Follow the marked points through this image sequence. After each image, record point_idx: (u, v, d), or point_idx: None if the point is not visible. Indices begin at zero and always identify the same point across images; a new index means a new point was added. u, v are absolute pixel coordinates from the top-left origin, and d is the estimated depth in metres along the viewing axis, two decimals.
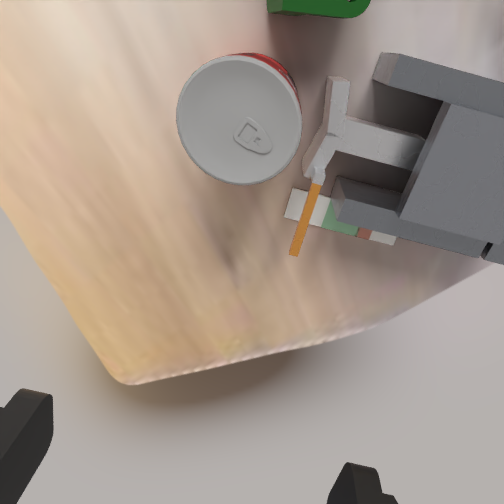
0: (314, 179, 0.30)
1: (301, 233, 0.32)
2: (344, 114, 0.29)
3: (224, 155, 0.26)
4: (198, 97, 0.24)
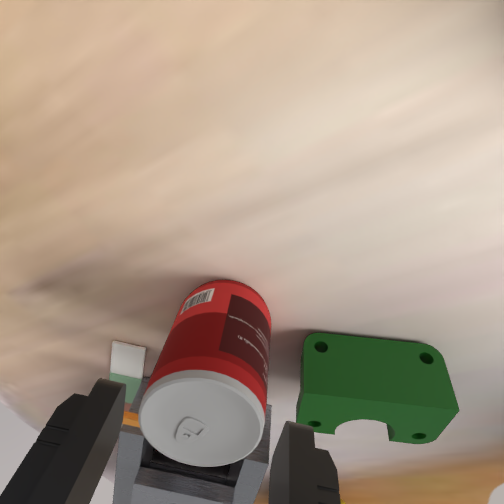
0: None
1: None
2: None
3: (168, 407, 0.24)
4: (224, 394, 0.23)
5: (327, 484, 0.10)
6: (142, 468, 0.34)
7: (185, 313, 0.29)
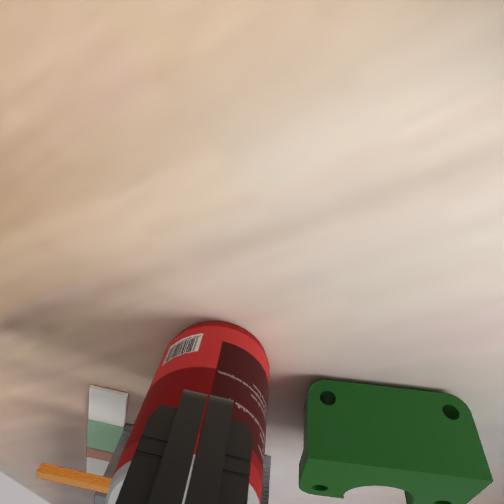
0: None
1: (68, 482, 0.26)
2: None
3: None
4: None
5: (240, 454, 0.10)
6: None
7: (167, 365, 0.25)
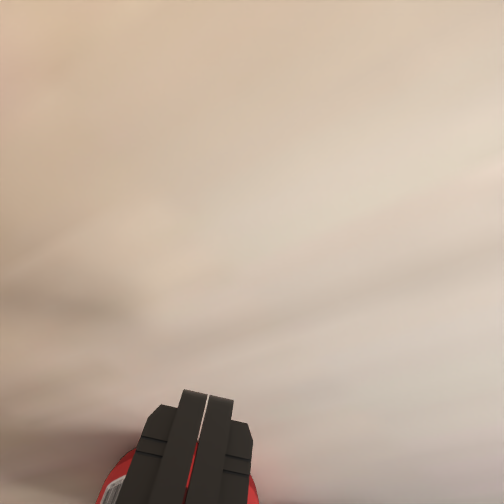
0: None
1: None
2: None
3: None
4: None
5: (240, 454, 0.10)
6: None
7: None
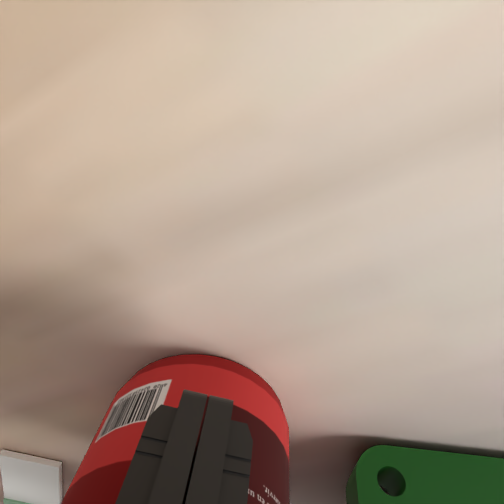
0: None
1: None
2: None
3: None
4: None
5: (240, 454, 0.10)
6: None
7: (100, 446, 0.13)
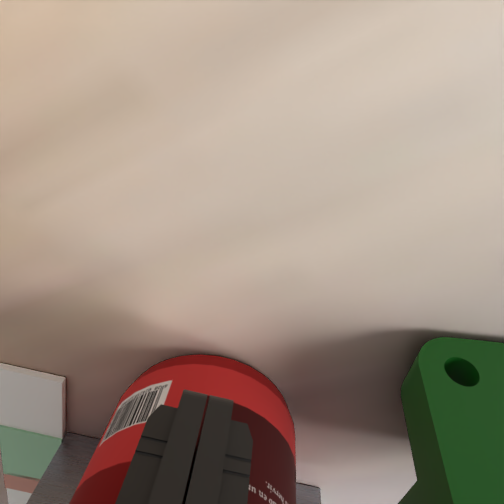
0: None
1: None
2: None
3: None
4: None
5: (240, 454, 0.10)
6: None
7: (104, 449, 0.13)
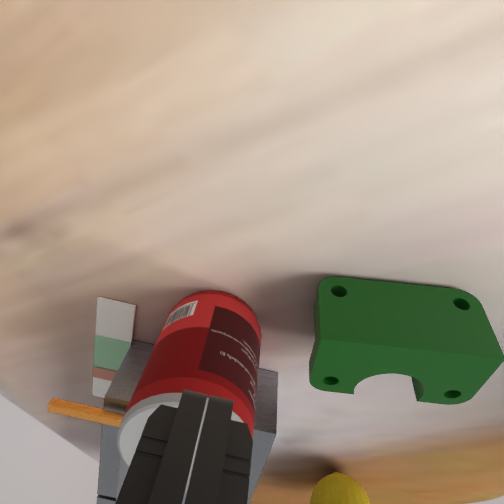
0: None
1: (78, 415, 0.28)
2: None
3: None
4: None
5: (240, 454, 0.10)
6: None
7: (166, 329, 0.28)
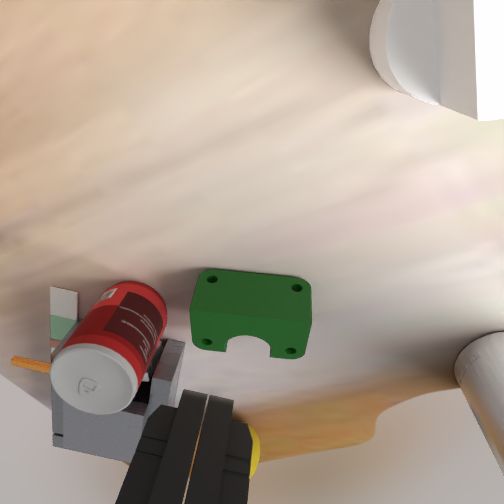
0: None
1: (31, 367, 0.40)
2: None
3: (69, 372, 0.35)
4: (102, 359, 0.33)
5: (240, 454, 0.10)
6: None
7: (92, 307, 0.40)
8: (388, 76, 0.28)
